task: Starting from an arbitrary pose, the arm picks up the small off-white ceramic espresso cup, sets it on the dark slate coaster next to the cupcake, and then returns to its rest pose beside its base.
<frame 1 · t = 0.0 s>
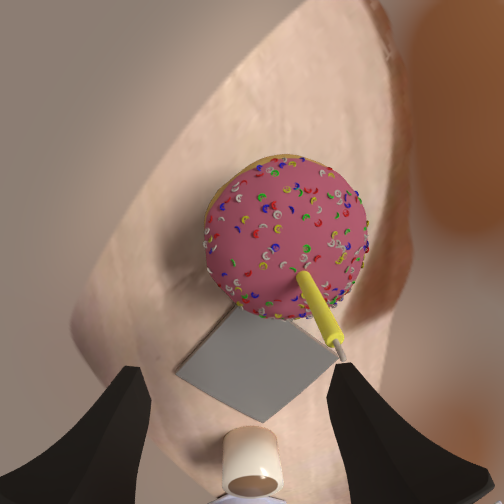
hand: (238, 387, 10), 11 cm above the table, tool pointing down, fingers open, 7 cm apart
coaster: (257, 364, 22), on the table
cupcake: (276, 224, 20), on the table
cup: (250, 442, 25), on the table
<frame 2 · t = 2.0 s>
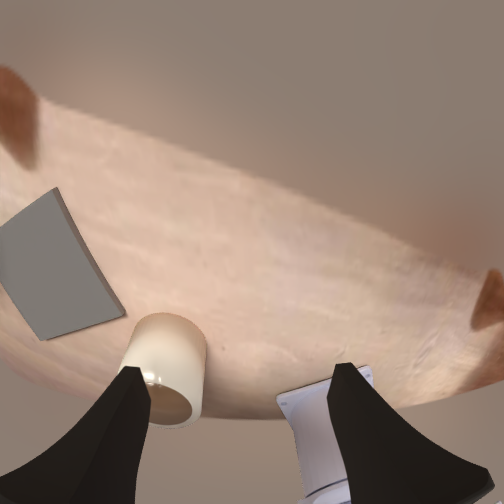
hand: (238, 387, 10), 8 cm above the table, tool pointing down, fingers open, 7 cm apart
coaster: (44, 274, 17), on the table
cup: (169, 342, 20), on the table
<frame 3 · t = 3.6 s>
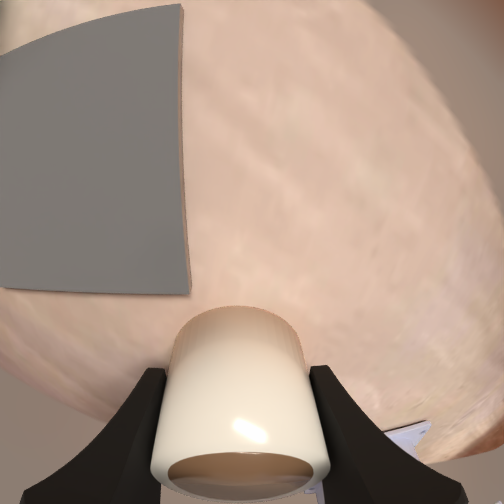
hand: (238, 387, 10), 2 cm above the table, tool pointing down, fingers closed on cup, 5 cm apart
coaster: (55, 164, 8), on the table
cup: (237, 357, 12), on the table, touching gripper
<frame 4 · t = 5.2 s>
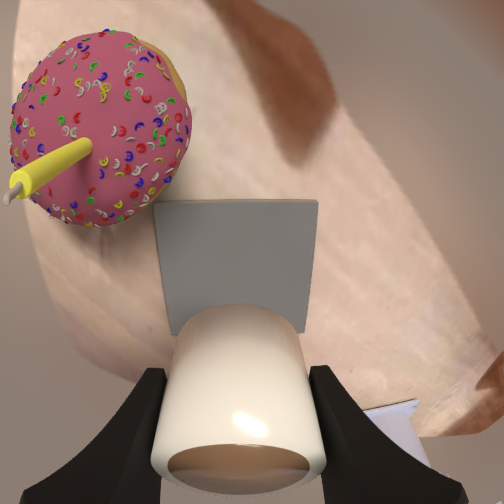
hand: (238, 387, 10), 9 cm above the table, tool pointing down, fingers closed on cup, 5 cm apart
coaster: (236, 271, 18), on the table
cupcake: (126, 124, 15), on the table
cup: (238, 354, 12), point 7 cm above the table, touching gripper
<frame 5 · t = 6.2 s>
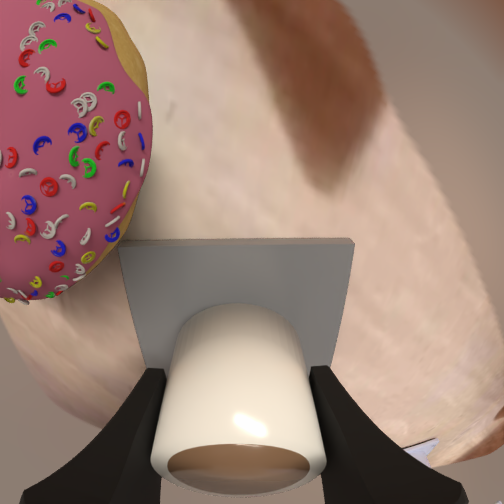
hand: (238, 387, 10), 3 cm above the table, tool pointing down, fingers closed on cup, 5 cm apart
coaster: (237, 332, 13), on the table
cupcake: (79, 131, 10), on the table
cup: (238, 354, 12), point 1 cm above the table, touching gripper
when the fingers open (3 cm above the table, at t = 6.9 s): cup stays where it is, resting on coaster.
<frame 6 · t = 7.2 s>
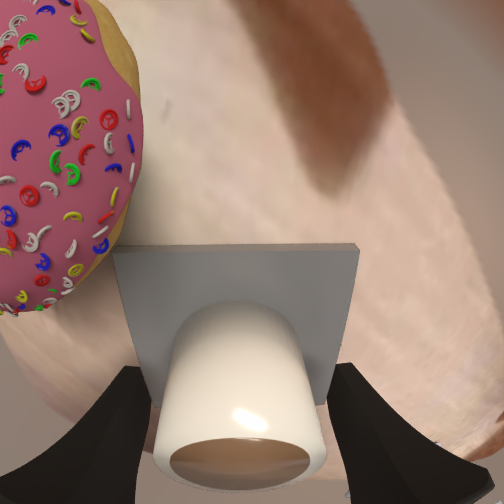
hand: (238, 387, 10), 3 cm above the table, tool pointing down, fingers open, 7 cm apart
coaster: (237, 340, 13), on the table
cupcake: (71, 132, 9), on the table
cup: (236, 351, 12), point 1 cm above the table, touching coaster
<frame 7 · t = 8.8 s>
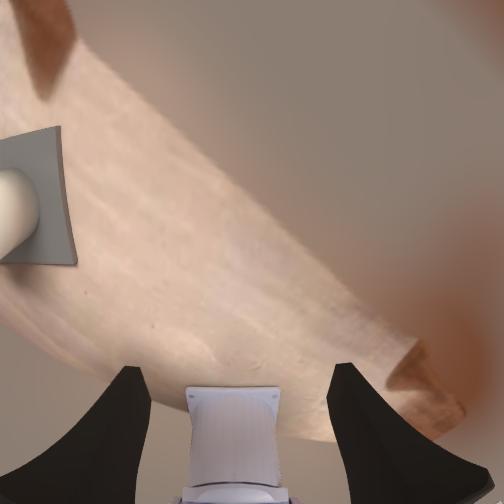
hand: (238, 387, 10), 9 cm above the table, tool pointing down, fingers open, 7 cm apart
coaster: (17, 200, 16), on the table
cup: (12, 204, 15), point 1 cm above the table, touching coaster
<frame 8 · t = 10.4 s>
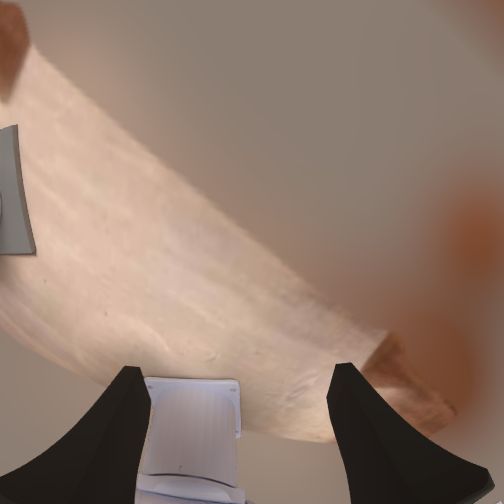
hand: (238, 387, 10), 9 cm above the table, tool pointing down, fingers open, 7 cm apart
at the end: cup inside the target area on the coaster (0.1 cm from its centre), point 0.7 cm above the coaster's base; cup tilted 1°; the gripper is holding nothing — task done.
